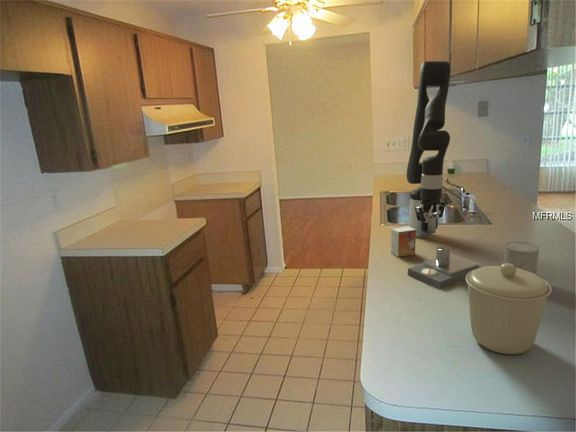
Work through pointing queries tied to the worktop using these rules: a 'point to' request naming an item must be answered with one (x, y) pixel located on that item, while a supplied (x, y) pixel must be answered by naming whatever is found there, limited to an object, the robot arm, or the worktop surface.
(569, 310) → the worktop surface
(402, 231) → the small box
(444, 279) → the scale
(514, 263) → the grey round cylinder
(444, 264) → the cylinder
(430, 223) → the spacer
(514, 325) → the canister
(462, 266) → the shower mixer plate
